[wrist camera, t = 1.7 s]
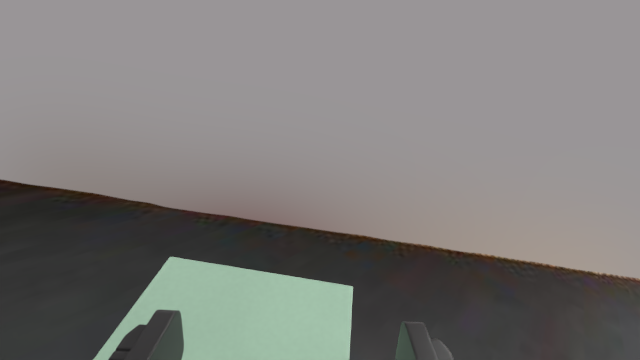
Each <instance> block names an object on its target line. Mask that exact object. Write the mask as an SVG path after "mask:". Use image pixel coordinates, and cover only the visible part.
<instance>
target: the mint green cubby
mask: <svg viewBox="0 0 640 360" xmlns="http://www.w3.org/2000/svg"><path fill="white" fill-rule="evenodd" d="M352 295H353V286H347V285H341V284H335V283H329V282H323V281H316V280H310V279H304V278H298V277H292V276H286V275H280V274H274V273H267V272H261V271H255V270H249V269H243V268H237V267H231V266H225V265H218V264H212V263H206V262H200V261H194V260H188V259H182V258H176V257H170V258H169V259H168V260H167V262H166V263H165V264H164V266H163V267H162V268H161V270H160V271H159V272H158V274H157V275H156V276H155V278H154V279H153V280H152V282H151V283H150V284H149V286H148V287H147V288H146V290H145V291H144V292H143V294H142V295H141V296H140V298H139V299H138V300H137V302H136V303H135V304H134V306H133V307H132V308H131V310H130V311H129V312H128V314H127V315H126V316H125V318H124V319H123V320H122V322H121V323H120V325H119V326H118V327H117V329H116V330H115V331H114V333H113V334H112V335H111V337H110V338H109V339H108V341H107V342H106V343H105V345H104V346H103V347H102V349H101V350H100V351H99V353H98V354H97V355H96V357H95V358H94V359H93V360H108V359H109V358H110V356H111V355H112V354H113V352H114V351H116V348H117V346H118V345H119V344H120V342H121V341H122V339H123V338H124V336H125V335H126V334H128V333H129V332H130V331H131V330H133V329H134V328H135V327H136V326H138V325H139V324H144V325H147V323H148V322H149V320H150V319H151V317H152V316H153V314H154V313H155V311H156V310H179V311H180V312H181V318H182V328H183V338H184V351H183V356H182V359H181V360H349V354H350V334H351V314H352Z"/></svg>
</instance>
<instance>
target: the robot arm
mask: <svg viewBox="0 0 640 360" xmlns="http://www.w3.org/2000/svg"><path fill="white" fill-rule="evenodd" d="M183 351H184V338H183V328H182V318H181V312H180V311H179V310H156V311H155V313H154V314H153V316H152V317H151V319H150V320H149V322H148V323H147V325H144V324H139V325H138V326H136V327H135V328H134V329H133V330H131V331H130V332H129V333H128V334H126V335H125V336H124V338H123V339H122V341H121V342H120V344H119V345H118V346H117V348H116V351H114V352H113V354H112V355H111V356H110V358H109V359H108V360H181V359H182V356H183ZM396 360H454V358H453V356H452V354H451V352H450V350H449V349H448V348H447V347H446V346H445V345H444V343H443V342H442V341H441V340H440V339H434V338H430V336H429V334H428V331H427V329H426V326H425V324H424V323H423V322H402V323H401V327H400V333H399V339H398V345H397V351H396Z"/></svg>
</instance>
